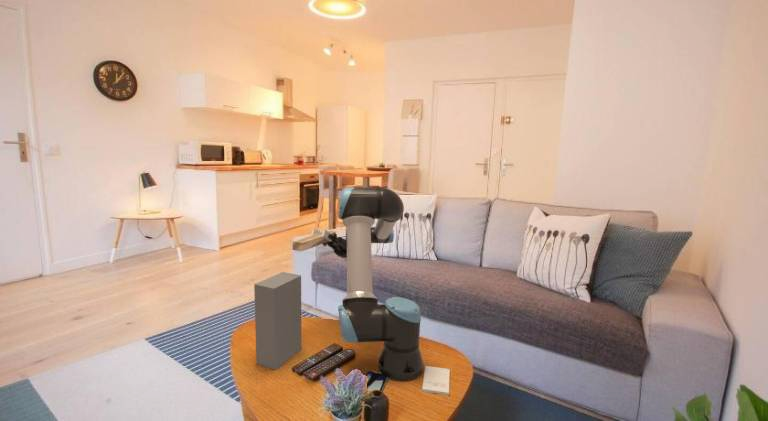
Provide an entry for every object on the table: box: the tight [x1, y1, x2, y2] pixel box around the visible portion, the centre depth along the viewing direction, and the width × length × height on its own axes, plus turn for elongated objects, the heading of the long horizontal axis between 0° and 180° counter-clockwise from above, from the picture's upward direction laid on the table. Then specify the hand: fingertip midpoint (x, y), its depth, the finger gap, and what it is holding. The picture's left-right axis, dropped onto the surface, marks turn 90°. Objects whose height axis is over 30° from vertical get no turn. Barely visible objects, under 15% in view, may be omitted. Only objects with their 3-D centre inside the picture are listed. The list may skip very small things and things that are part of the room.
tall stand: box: [253, 271, 303, 371], centre depth 127 cm, size 8×14×28 cm, turn 156°
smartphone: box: [364, 370, 389, 393], centre depth 114 cm, size 7×1×15 cm
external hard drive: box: [421, 365, 451, 396], centre depth 119 cm, size 2×8×12 cm
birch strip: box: [292, 229, 337, 252], centre depth 139 cm, size 4×22×3 cm, turn 156°
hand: (318, 232), depth 141 cm, fingers closed on birch strip, 4 cm apart
